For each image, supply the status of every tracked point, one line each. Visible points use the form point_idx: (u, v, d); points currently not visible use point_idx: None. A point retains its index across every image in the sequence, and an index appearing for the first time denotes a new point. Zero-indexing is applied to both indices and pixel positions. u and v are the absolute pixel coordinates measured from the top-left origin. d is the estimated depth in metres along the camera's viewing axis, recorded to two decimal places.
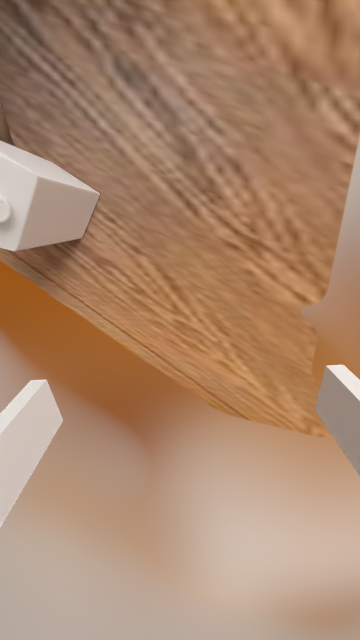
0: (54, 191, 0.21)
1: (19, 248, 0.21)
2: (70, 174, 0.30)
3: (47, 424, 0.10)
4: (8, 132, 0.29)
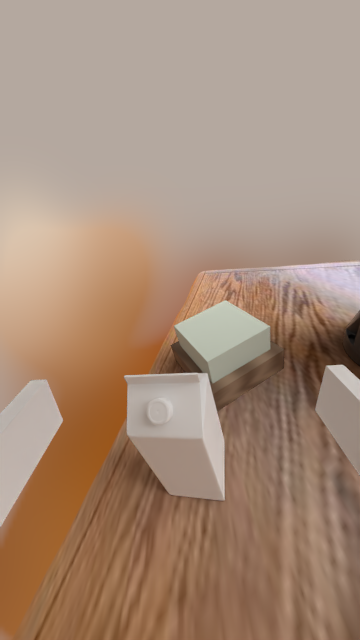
0: (198, 455, 0.21)
1: (130, 438, 0.21)
2: None
3: (47, 424, 0.10)
4: (225, 404, 0.37)
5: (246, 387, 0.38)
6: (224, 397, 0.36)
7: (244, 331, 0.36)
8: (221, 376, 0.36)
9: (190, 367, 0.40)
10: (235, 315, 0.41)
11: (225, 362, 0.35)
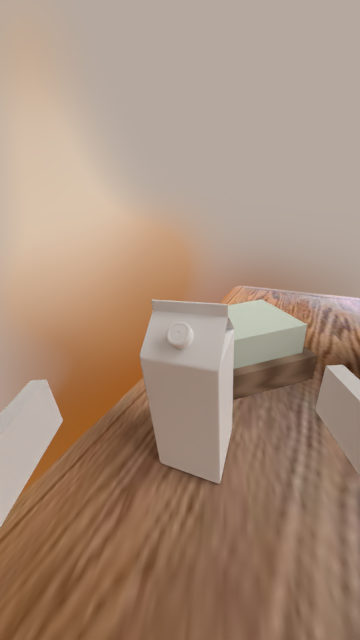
0: (207, 398, 0.19)
1: (142, 361, 0.20)
2: None
3: (47, 424, 0.10)
4: (239, 396, 0.34)
5: (267, 385, 0.34)
6: (241, 387, 0.33)
7: (278, 324, 0.34)
8: (243, 364, 0.34)
9: None
10: (269, 311, 0.39)
11: (251, 349, 0.33)
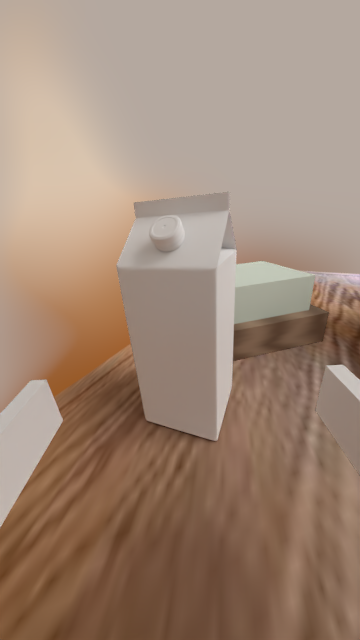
0: (202, 315, 0.14)
1: (119, 272, 0.16)
2: (227, 402, 0.22)
3: (47, 424, 0.10)
4: (240, 357, 0.30)
5: (272, 345, 0.30)
6: (243, 345, 0.29)
7: (282, 275, 0.30)
8: (243, 319, 0.29)
9: None
10: (272, 268, 0.35)
11: (252, 301, 0.29)
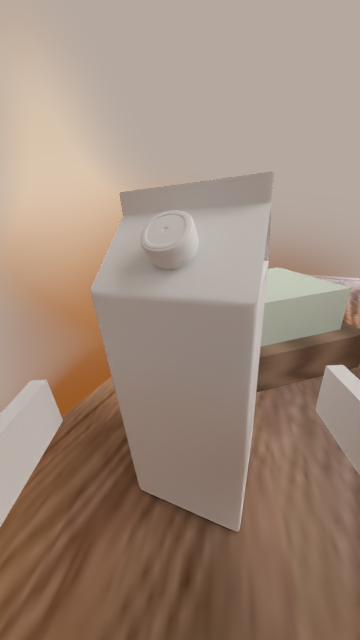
0: (226, 373, 0.09)
1: (95, 300, 0.10)
2: (248, 462, 0.17)
3: (47, 424, 0.10)
4: (260, 389, 0.24)
5: (298, 374, 0.25)
6: (263, 375, 0.23)
7: (309, 288, 0.25)
8: (262, 343, 0.24)
9: None
10: (293, 277, 0.29)
11: (273, 320, 0.23)
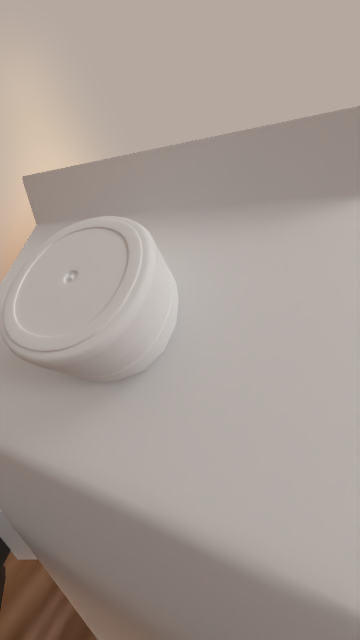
0: None
1: None
2: None
3: None
4: None
5: None
6: None
7: None
8: None
9: None
10: None
11: None
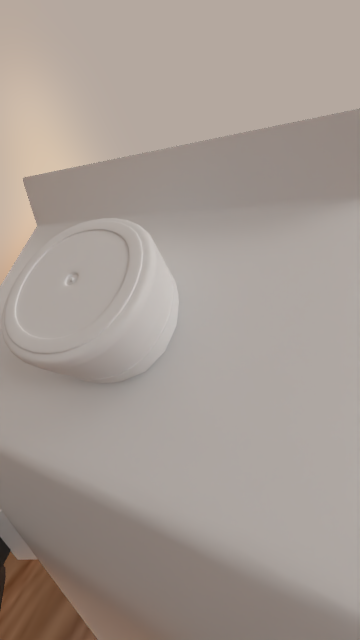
0: None
1: None
2: None
3: None
4: None
5: None
6: None
7: None
8: None
9: None
10: None
11: None
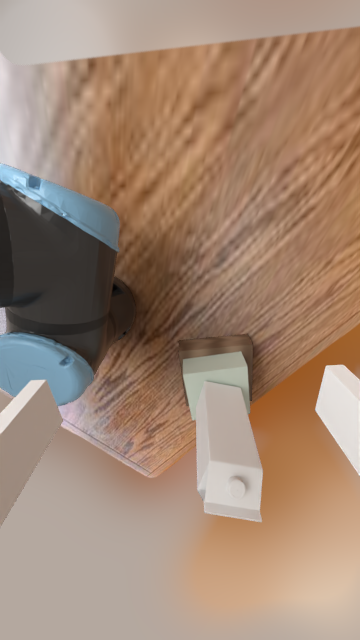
0: (214, 439, 0.31)
1: (260, 466, 0.29)
2: None
3: (47, 424, 0.10)
4: (238, 335, 0.49)
5: (217, 339, 0.48)
6: (238, 339, 0.47)
7: (203, 379, 0.42)
8: (232, 353, 0.45)
9: (251, 372, 0.48)
10: (198, 398, 0.44)
11: (229, 361, 0.43)
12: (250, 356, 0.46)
